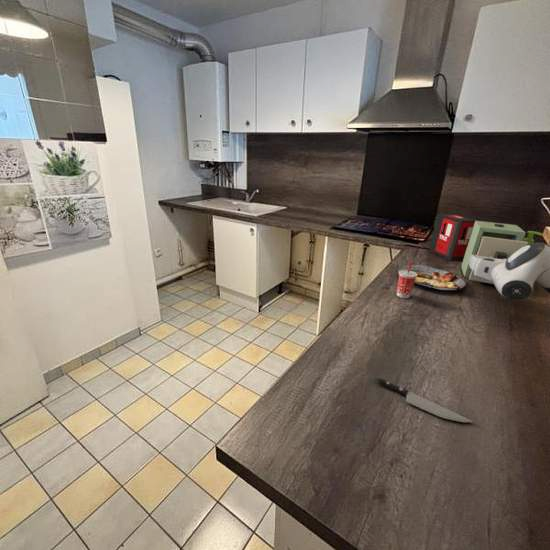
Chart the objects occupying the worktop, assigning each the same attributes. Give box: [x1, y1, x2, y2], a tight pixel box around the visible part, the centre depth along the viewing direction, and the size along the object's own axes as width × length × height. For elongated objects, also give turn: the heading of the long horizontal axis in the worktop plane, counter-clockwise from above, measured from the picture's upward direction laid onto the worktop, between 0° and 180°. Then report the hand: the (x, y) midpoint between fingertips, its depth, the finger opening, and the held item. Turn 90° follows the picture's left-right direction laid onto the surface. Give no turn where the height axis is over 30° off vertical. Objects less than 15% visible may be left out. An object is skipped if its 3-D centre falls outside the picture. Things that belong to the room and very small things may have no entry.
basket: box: [468, 236, 528, 285], centre depth 116 cm, size 17×14×18 cm
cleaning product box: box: [428, 213, 478, 262], centre depth 149 cm, size 16×9×20 cm, turn 10°
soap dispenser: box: [523, 230, 545, 244], centre depth 126 cm, size 6×7×20 cm
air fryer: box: [461, 220, 527, 279], centre depth 124 cm, size 14×15×23 cm
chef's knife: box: [376, 377, 474, 423], centre depth 61 cm, size 19×1×3 cm
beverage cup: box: [396, 259, 417, 299], centre depth 105 cm, size 6×6×14 cm
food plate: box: [397, 264, 467, 292], centre depth 120 cm, size 25×23×4 cm
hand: (498, 259), depth 110 cm, fingers closed on basket, 3 cm apart
